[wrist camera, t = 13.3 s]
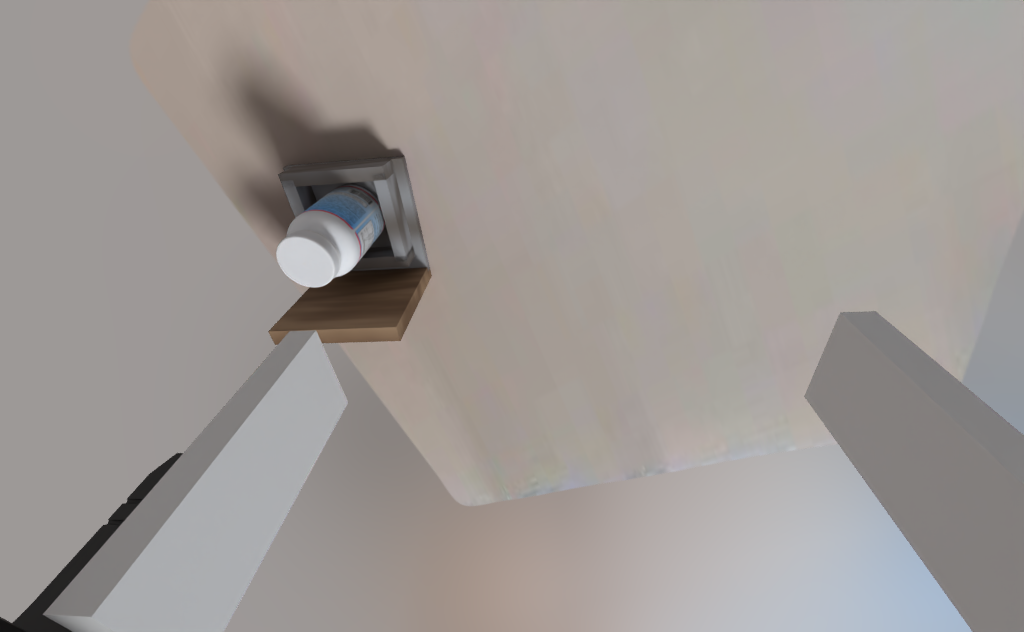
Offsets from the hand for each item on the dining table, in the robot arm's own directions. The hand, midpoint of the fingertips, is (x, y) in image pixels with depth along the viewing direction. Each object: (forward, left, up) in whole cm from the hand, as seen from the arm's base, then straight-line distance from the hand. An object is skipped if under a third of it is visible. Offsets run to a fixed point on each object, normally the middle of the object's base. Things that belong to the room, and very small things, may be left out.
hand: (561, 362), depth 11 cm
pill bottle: (+6, -20, -31) cm, 37 cm away
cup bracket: (+8, -20, -32) cm, 38 cm away
